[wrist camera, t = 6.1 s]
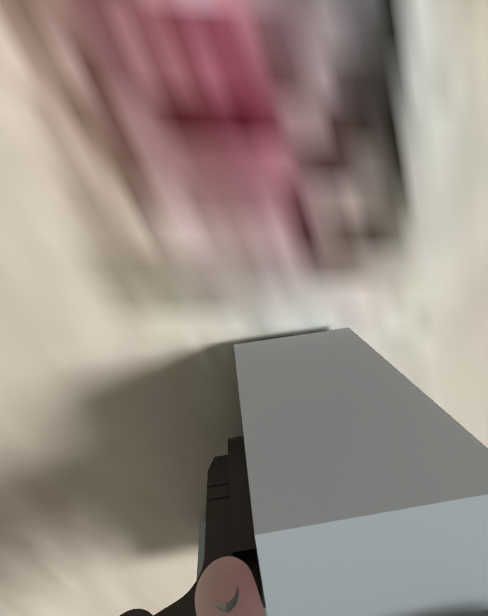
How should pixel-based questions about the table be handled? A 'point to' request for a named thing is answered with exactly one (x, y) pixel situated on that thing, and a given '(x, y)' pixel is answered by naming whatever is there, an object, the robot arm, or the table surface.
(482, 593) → the grey inverted t block
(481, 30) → the table surface
